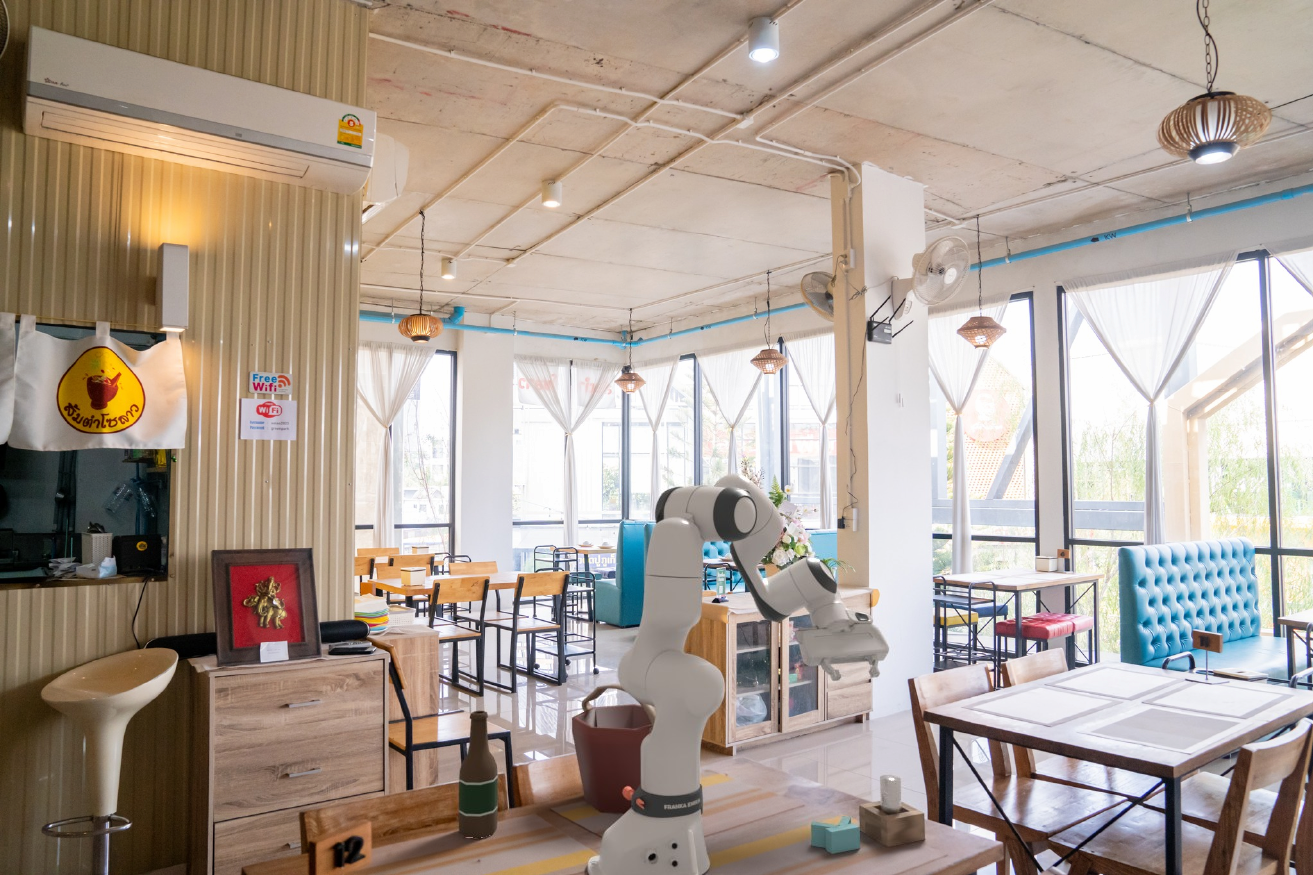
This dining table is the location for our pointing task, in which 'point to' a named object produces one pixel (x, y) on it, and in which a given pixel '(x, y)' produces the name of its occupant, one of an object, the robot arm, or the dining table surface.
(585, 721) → the bucket
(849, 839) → the teal V-block
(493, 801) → the beer bottle
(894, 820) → the walnut block
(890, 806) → the steel axle
